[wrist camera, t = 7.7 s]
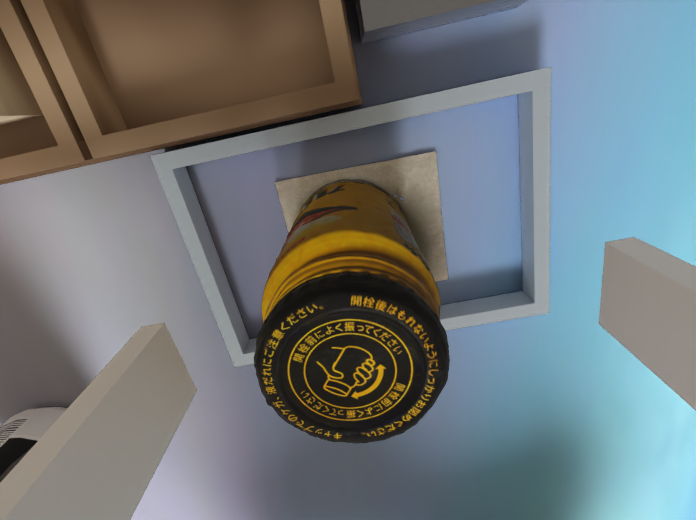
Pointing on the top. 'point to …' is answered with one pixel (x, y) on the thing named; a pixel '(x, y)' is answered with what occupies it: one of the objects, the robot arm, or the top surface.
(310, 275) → the condiment
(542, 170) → the frame
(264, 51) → the brown divided tray
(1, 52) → the block
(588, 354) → the top surface
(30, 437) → the supplement can
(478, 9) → the button housing
